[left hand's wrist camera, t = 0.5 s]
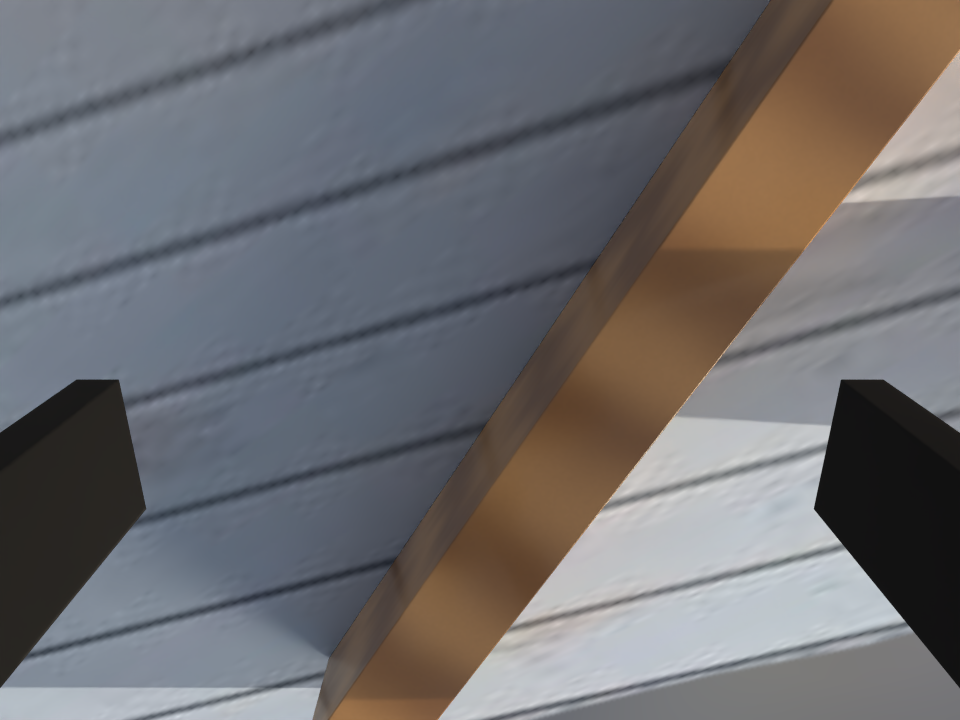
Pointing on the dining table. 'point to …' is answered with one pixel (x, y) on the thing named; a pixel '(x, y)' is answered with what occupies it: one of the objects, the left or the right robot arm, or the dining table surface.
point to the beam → (641, 335)
